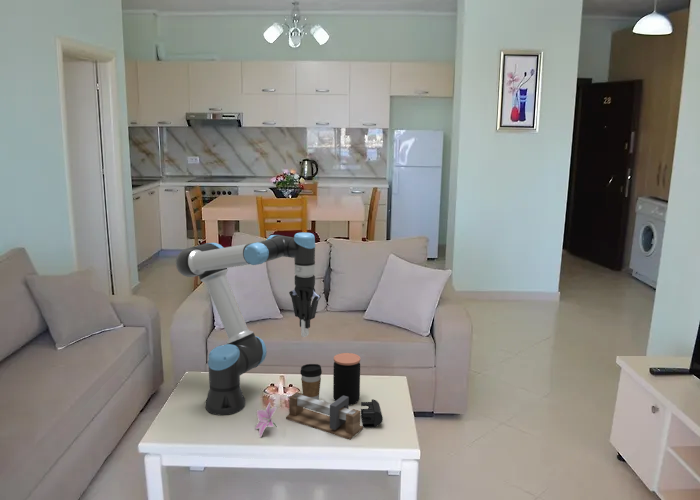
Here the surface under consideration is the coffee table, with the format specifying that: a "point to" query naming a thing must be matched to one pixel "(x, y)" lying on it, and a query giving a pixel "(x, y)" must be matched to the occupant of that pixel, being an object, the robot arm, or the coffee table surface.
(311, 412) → the pipe stand
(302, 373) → the coffee cup
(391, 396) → the coffee table surface
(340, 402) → the collar
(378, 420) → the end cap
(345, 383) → the coffee jar
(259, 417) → the lily
